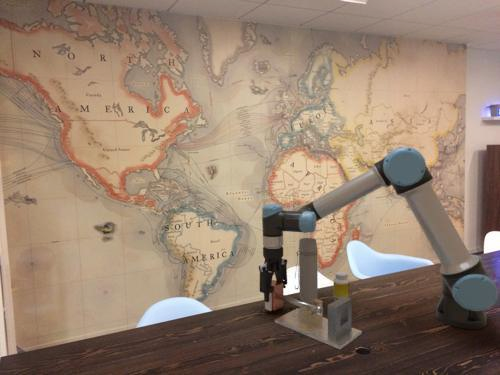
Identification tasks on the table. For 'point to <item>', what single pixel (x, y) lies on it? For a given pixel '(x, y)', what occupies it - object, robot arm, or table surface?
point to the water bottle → (307, 270)
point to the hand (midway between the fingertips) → (274, 306)
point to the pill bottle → (341, 285)
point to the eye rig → (324, 322)
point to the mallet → (287, 298)
